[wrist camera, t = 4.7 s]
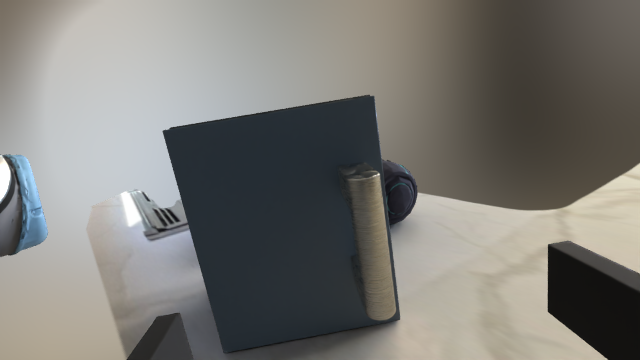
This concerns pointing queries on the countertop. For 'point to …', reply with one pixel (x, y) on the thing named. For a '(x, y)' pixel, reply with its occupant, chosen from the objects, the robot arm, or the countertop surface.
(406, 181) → the portable speaker
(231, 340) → the freezer door
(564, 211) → the countertop surface
